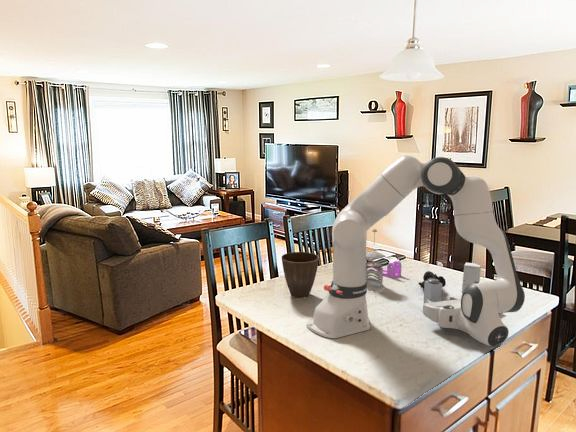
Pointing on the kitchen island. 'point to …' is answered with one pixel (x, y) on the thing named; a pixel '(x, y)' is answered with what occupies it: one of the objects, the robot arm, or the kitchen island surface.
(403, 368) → the kitchen island surface
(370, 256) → the french press
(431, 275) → the night vision scope
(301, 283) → the plant pot
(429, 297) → the cap block
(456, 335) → the kitchen island surface
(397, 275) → the bracket
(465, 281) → the skincare box
